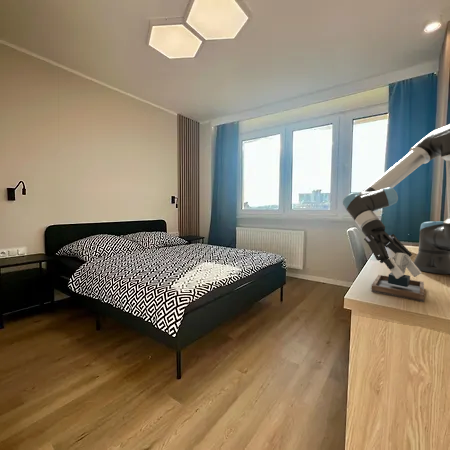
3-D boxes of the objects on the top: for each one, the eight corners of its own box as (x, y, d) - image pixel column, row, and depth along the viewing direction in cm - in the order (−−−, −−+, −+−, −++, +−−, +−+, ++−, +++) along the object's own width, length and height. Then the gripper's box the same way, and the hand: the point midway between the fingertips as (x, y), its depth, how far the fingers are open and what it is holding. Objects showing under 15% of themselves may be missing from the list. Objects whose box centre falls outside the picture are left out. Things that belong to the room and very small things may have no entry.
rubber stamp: (410, 283, 87) (413, 252, 86) (405, 288, 81) (408, 255, 80) (391, 279, 91) (394, 250, 90) (386, 284, 85) (388, 253, 84)
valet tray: (378, 279, 98) (378, 274, 98) (423, 287, 89) (423, 281, 89) (371, 291, 84) (371, 285, 83) (423, 302, 75) (424, 295, 75)
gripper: (382, 230, 103) (420, 278, 89) (344, 231, 96) (379, 283, 82) (395, 218, 97) (438, 268, 83) (356, 218, 90) (395, 272, 77)
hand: (409, 275), depth 83 cm, fingers closed on rubber stamp, 8 cm apart
